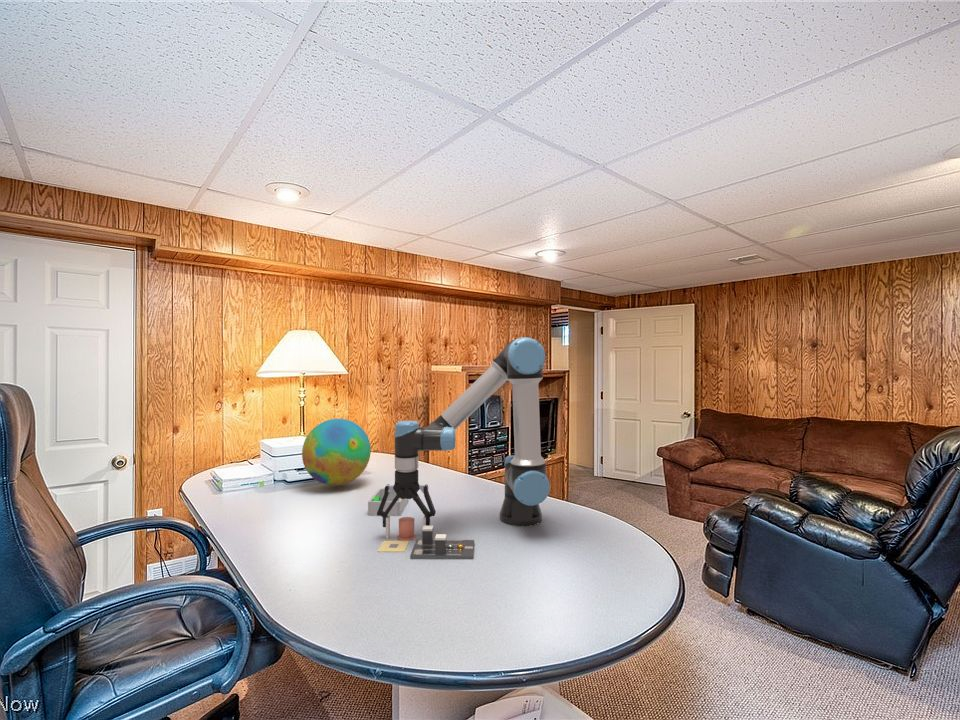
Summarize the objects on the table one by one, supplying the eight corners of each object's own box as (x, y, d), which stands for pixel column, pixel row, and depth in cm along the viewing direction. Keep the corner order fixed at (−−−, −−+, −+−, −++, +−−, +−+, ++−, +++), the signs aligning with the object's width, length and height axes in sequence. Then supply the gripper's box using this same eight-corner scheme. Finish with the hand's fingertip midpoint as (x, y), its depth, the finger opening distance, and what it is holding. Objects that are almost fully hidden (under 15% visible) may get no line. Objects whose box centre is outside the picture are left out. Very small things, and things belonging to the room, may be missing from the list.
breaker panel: (474, 544, 145) (474, 537, 145) (473, 561, 133) (473, 553, 133) (416, 544, 145) (416, 536, 145) (410, 560, 133) (410, 552, 133)
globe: (288, 491, 202) (288, 422, 202) (322, 474, 231) (322, 414, 231) (353, 495, 197) (353, 424, 197) (380, 477, 226) (380, 415, 226)
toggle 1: (433, 540, 144) (433, 525, 144) (432, 544, 141) (432, 529, 141) (423, 540, 144) (423, 525, 144) (422, 544, 141) (422, 529, 141)
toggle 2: (446, 549, 137) (446, 534, 137) (445, 554, 134) (445, 538, 134) (436, 549, 137) (436, 534, 137) (435, 554, 134) (435, 538, 134)
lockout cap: (416, 534, 153) (416, 516, 153) (413, 541, 148) (413, 522, 148) (399, 534, 153) (399, 516, 153) (396, 541, 148) (396, 522, 148)
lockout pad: (409, 542, 146) (409, 540, 146) (404, 553, 138) (404, 551, 138) (383, 542, 147) (383, 540, 147) (377, 553, 139) (377, 550, 139)
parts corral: (408, 500, 190) (408, 488, 190) (400, 515, 172) (400, 502, 172) (379, 500, 190) (379, 488, 190) (367, 515, 172) (367, 501, 172)
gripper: (444, 466, 154) (444, 533, 154) (372, 466, 154) (372, 532, 154) (442, 472, 146) (441, 542, 146) (367, 471, 147) (366, 541, 147)
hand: (406, 537), depth 150 cm, fingers open, 11 cm apart
